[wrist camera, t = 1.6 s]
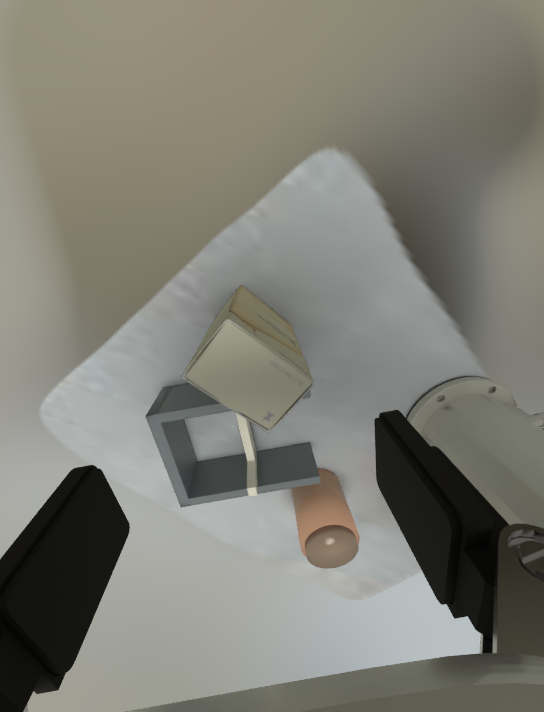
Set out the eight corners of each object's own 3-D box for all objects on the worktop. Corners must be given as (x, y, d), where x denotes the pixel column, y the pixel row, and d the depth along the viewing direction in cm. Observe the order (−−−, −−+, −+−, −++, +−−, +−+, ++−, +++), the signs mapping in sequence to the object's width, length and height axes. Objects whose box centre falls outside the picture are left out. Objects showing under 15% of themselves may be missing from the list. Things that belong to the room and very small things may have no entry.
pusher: (242, 387, 28) (240, 422, 23) (256, 452, 32) (258, 497, 26) (234, 388, 28) (230, 424, 23) (249, 453, 32) (249, 498, 26)
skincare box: (292, 324, 27) (321, 383, 16) (263, 358, 28) (271, 437, 17) (238, 282, 25) (228, 314, 14) (210, 320, 26) (179, 379, 15)
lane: (299, 364, 28) (309, 388, 24) (310, 448, 32) (320, 483, 28) (162, 387, 28) (145, 416, 24) (190, 469, 32) (180, 507, 28)
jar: (337, 464, 34) (361, 524, 26) (340, 500, 36) (363, 565, 29) (288, 473, 34) (298, 535, 26) (294, 508, 36) (305, 575, 29)
